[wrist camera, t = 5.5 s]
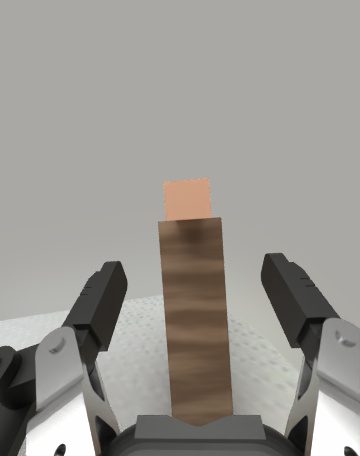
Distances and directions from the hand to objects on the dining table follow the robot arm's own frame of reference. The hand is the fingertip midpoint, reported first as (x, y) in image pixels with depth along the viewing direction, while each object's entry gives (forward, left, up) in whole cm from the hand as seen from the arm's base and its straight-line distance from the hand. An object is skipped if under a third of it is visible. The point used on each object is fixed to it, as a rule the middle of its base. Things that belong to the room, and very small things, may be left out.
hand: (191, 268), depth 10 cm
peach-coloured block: (-7, +14, +3) cm, 16 cm away
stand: (-9, +19, -29) cm, 36 cm away
